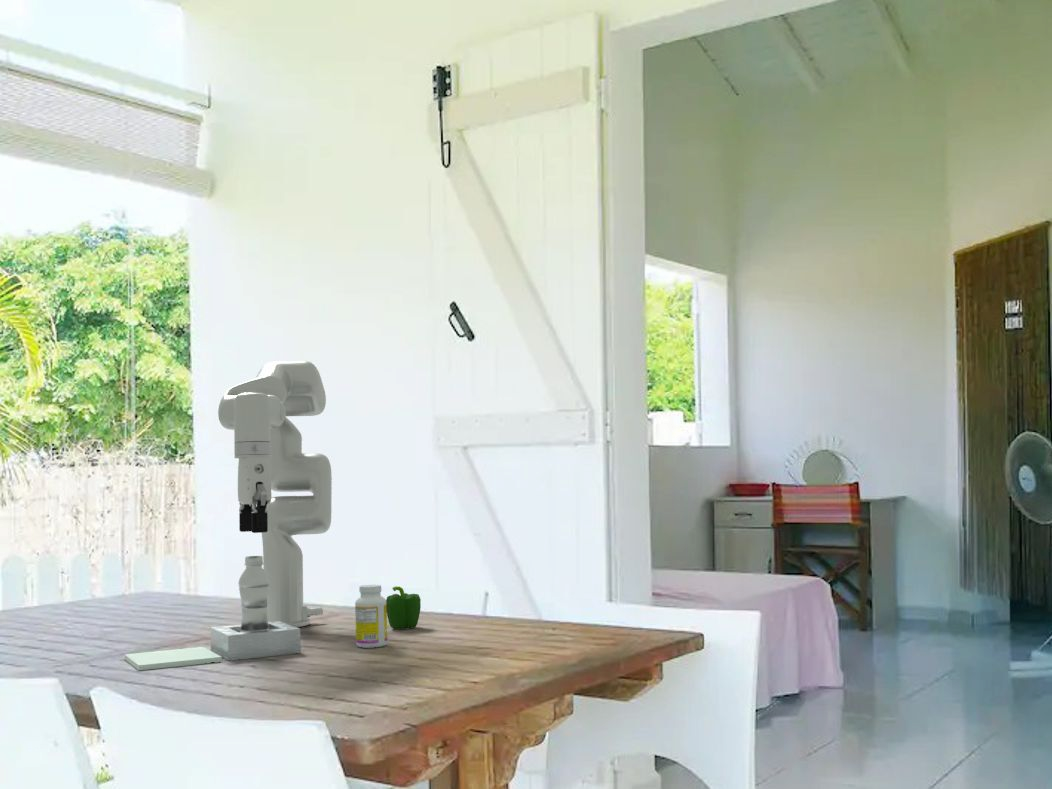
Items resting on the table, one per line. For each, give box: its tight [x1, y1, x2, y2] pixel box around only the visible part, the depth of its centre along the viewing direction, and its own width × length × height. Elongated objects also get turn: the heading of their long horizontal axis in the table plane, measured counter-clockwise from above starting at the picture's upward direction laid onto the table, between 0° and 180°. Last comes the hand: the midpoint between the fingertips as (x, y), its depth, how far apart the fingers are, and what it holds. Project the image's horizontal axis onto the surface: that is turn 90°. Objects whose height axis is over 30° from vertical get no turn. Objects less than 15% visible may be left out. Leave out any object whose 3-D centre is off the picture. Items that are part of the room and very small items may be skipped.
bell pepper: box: [385, 585, 422, 630], centre depth 272 cm, size 8×8×10 cm
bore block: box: [210, 621, 302, 661], centre depth 241 cm, size 15×15×5 cm
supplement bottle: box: [354, 584, 388, 649], centre depth 246 cm, size 7×7×13 cm
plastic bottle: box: [238, 555, 270, 632], centre depth 242 cm, size 6×7×20 cm
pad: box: [124, 646, 223, 671], centre depth 233 cm, size 16×16×1 cm
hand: (253, 531), depth 242 cm, fingers open, 9 cm apart
